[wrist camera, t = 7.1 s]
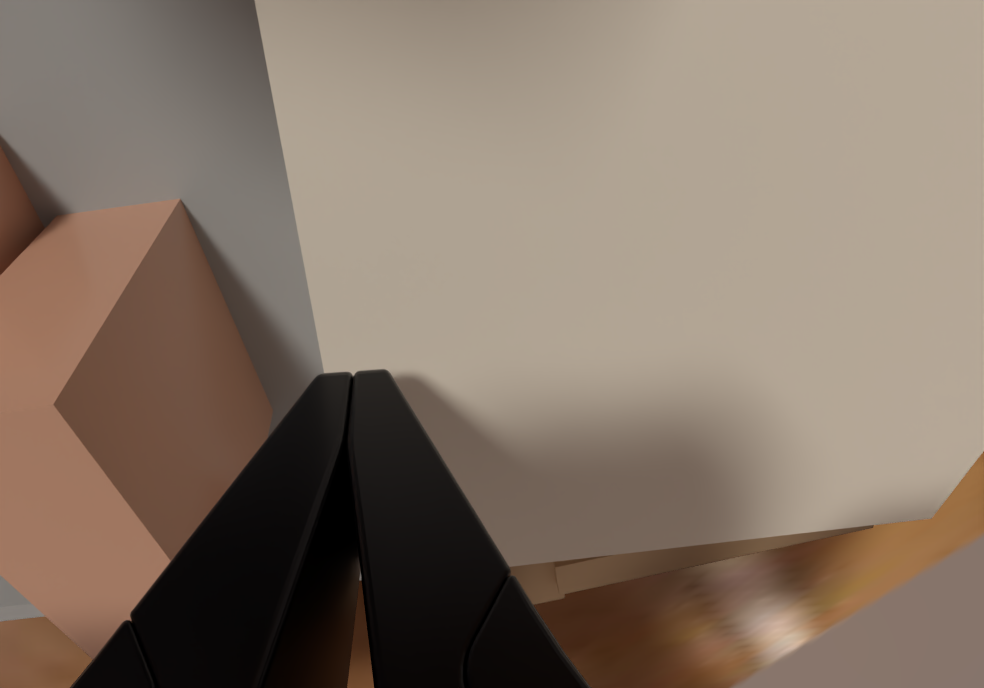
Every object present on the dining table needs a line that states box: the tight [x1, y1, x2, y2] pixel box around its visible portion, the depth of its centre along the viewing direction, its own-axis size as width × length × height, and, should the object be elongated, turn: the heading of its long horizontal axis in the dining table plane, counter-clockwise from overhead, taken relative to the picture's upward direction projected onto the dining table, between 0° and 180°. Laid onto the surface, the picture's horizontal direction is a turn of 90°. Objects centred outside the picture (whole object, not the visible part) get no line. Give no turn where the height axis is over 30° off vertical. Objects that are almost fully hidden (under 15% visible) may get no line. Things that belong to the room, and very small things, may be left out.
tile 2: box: [0, 199, 273, 659], centre depth 10 cm, size 5×5×2 cm
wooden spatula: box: [510, 525, 874, 605], centre depth 19 cm, size 15×4×1 cm, turn 99°
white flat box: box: [254, 0, 984, 567], centre depth 10 cm, size 12×11×4 cm
